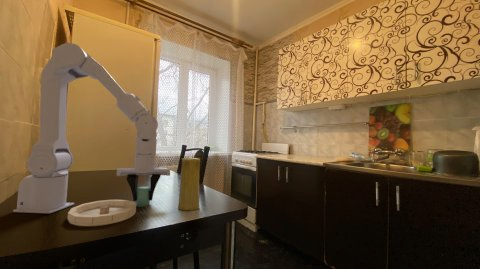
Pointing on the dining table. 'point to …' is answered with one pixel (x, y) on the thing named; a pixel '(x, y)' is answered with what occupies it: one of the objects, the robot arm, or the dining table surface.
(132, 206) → the ring tray
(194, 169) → the vase
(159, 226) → the dining table surface
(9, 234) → the dining table surface
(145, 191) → the teal green block
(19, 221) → the dining table surface
